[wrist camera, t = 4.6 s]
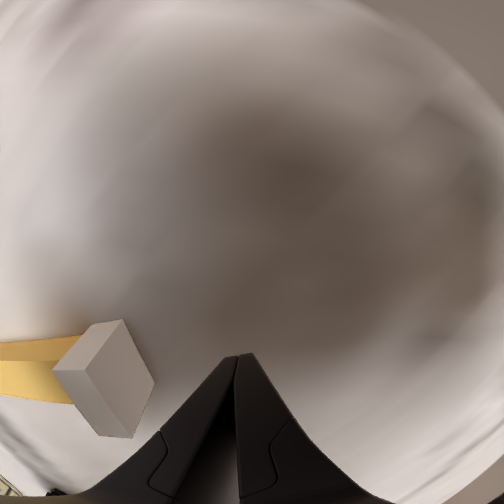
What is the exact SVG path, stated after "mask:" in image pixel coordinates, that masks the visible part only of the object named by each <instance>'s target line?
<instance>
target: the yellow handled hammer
mask: <svg viewBox="0 0 504 504" xmlns="http://www.w3.org/2000/svg"><path fill="white" fill-rule="evenodd" d="M154 384H155V382H154V380H153V378H152V376H151V374H150V373H149V371H148V369H147V367H146V365H145V363H144V361H143V359H142V357H141V356H140V354H139V352H138V350H137V348H136V346H135V344H134V341H133V339H132V337H131V335H130V333H129V331H128V329H127V327H126V325H125V322H124V320H123V319H121V320H115V321H109V322H103V323H96V324H92V325H91V326H90V327H89V328H88V329H87V330H86V332H85V333H84V334H83V335H78V336H69V337H61V338H51V339H42V340H31V341H20V342H7V343H0V394H2V395H7V396H12V397H18V398H24V399H30V400H37V401H45V402H53V403H63V404H74V405H75V406H76V407H77V409H78V410H79V411H80V413H81V414H82V415H83V417H84V418H85V419H86V420H87V422H88V423H89V424H90V426H91V427H92V428H93V429H94V431H95V432H96V433H97V434H98V435H99V436H108V437H119V438H133V436H134V433H135V431H136V428H137V426H138V423H139V421H140V418H141V416H142V413H143V411H144V408H145V406H146V403H147V401H148V399H149V396H150V394H151V391H152V389H153V387H154Z"/></svg>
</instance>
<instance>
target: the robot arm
mask: <svg viewBox="0 0 504 504" xmlns="http://www.w3.org/2000/svg"><path fill="white" fill-rule="evenodd" d="M0 504H395V503H392V502H390V501H387V500H384V499H382V498H379V497H377V496H374V495H372V494H371V493H369V492H367V491H366V490H364V489H363V488H362V487H360V486H359V485H358V484H357V483H355V482H354V481H353V480H352V479H351V478H350V477H348V476H347V475H346V474H345V473H344V472H343V471H342V470H341V469H340V468H339V467H337V466H336V465H335V464H334V463H333V462H332V461H331V460H330V459H329V458H328V457H327V456H326V455H325V454H324V453H323V452H322V451H321V450H320V449H319V448H318V447H317V446H316V445H315V444H314V443H313V442H312V441H311V439H310V438H309V437H308V436H307V434H306V433H305V432H304V430H303V429H302V428H301V426H300V425H299V423H298V422H297V420H296V419H295V418H294V416H293V415H292V413H291V412H290V410H289V409H288V407H287V406H286V404H285V403H284V401H283V400H282V398H281V397H280V395H279V393H278V392H277V390H276V389H275V387H274V386H273V384H272V383H271V381H270V379H269V378H268V376H267V375H266V373H265V372H264V370H263V368H262V367H261V365H260V364H259V362H258V360H257V359H256V357H255V356H254V354H253V353H247V354H242V355H239V356H237V355H236V356H230V357H225V358H224V359H223V360H222V361H221V362H220V363H219V364H218V366H217V367H216V368H215V369H214V370H213V371H212V372H211V374H210V375H209V376H208V377H207V378H206V379H205V380H204V381H203V383H202V384H201V385H200V386H199V387H198V388H197V389H196V390H195V391H194V393H193V394H192V395H191V396H190V397H189V398H188V399H187V400H186V401H185V402H184V404H183V405H182V406H181V407H180V408H179V409H178V410H177V411H176V412H175V413H174V414H173V415H172V417H171V418H170V419H169V420H168V421H167V422H166V423H165V424H164V425H163V426H162V427H161V428H160V431H157V432H156V433H155V434H154V435H153V436H152V438H151V439H150V440H149V441H148V442H146V443H145V444H144V445H143V446H142V447H141V448H140V449H139V450H138V451H137V452H136V453H135V454H134V455H132V456H131V457H130V458H129V459H128V460H127V461H125V462H124V463H123V464H122V465H120V466H119V467H118V468H117V469H115V470H114V471H113V472H112V473H110V474H109V475H108V476H106V477H105V478H104V479H103V480H101V481H100V482H99V483H97V484H96V485H95V486H93V487H92V488H90V489H88V490H86V491H84V492H81V493H78V494H74V495H64V494H62V493H61V492H59V491H58V490H56V489H53V491H52V493H50V492H47V494H46V496H41V497H28V496H7V495H0ZM487 504H504V493H502V494H501V495H499V496H498V497H497V498H495V499H494V500H492V501H491V502H489V503H487Z"/></svg>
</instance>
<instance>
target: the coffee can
mask: <svg viewBox="0 0 504 504" xmlns="http://www.w3.org/2000/svg"><path fill="white" fill-rule="evenodd" d="M0 495H7V496H22V494H21V493H20V492H19V491H18V490H17V489H16V488H15V487H13V486H12V485H11V484H10V483H9V482H8V481H7V480H6V479H4V478H3V477H2V476H1V475H0Z"/></svg>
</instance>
